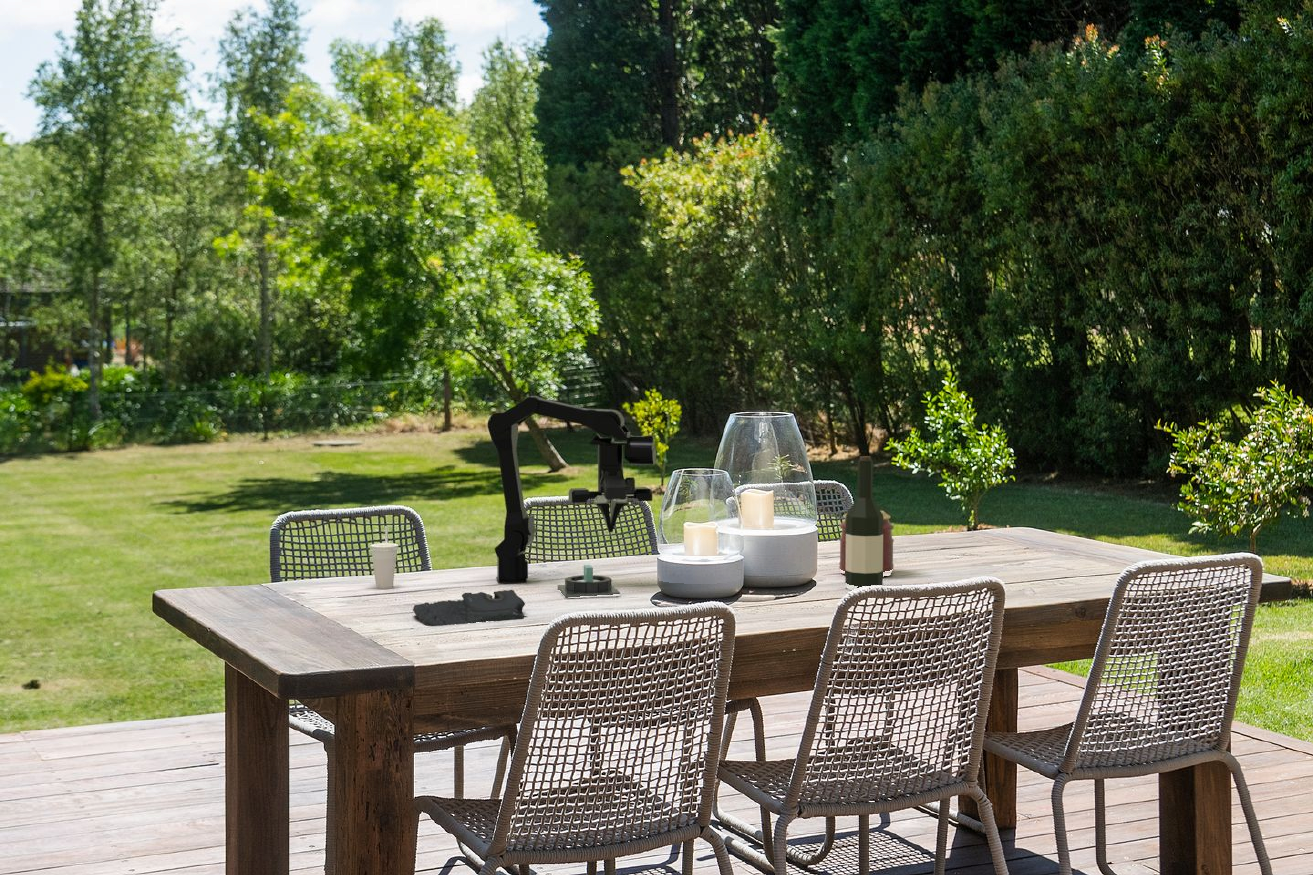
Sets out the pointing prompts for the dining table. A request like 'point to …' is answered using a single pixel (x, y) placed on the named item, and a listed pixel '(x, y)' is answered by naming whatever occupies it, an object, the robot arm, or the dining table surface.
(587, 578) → the cap
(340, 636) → the dining table surface
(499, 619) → the dark slate chunk
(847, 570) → the wine bottle
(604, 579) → the square ring flange
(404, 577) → the dining table surface
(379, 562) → the smoothie
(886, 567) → the canister
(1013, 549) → the dining table surface
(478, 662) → the dining table surface
